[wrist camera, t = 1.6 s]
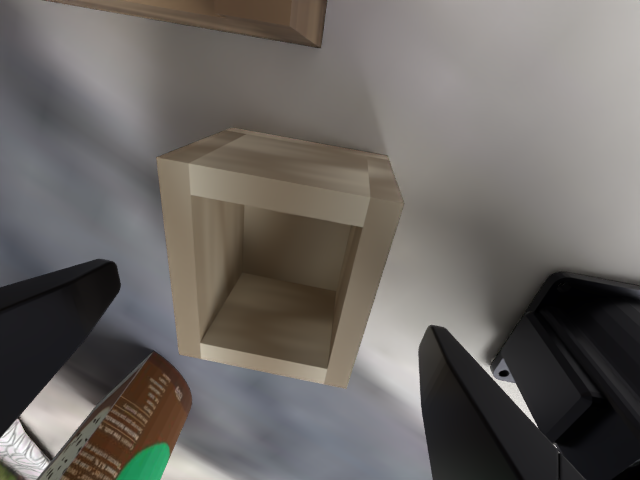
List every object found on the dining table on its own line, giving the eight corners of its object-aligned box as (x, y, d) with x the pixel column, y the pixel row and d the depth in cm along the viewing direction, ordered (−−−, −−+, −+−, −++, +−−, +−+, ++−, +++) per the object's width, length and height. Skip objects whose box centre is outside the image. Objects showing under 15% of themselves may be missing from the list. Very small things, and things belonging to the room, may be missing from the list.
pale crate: (387, 154, 11) (404, 203, 7) (350, 296, 15) (346, 388, 10) (233, 126, 12) (156, 157, 7) (231, 273, 15) (178, 354, 11)
